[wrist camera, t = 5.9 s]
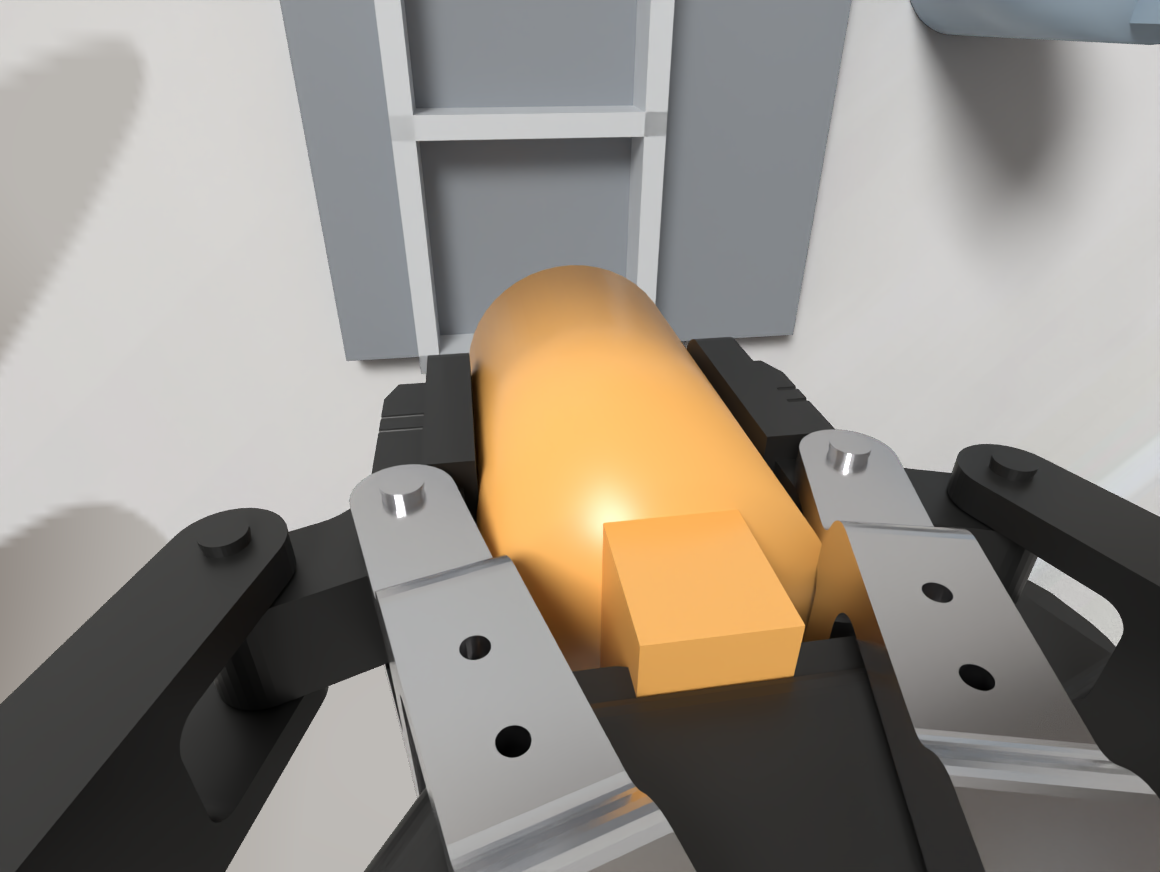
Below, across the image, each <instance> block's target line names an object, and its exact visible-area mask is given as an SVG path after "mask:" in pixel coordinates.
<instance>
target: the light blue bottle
mask: <svg viewBox="0 0 1160 872" xmlns="http://www.w3.org/2000/svg"><path fill="white" fill-rule="evenodd" d="M911 3H912V6H913V8H914V10H915V12H916V14H917V15H918V16H919V18H920V19H921V20H922V21H923V22H924V23H925V24H926V25H927V26H928V27H930V28H931V29H933V30H935V31H937V32H939V33H943V34H948V35H963V36H983V37H1003V38H1023V39H1043V40H1064V41H1084V42H1104V43H1124V44H1144V45H1154V44H1160V0H911Z"/></svg>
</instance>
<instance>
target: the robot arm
mask: <svg viewBox="0 0 1160 872" xmlns="http://www.w3.org/2000/svg"><path fill="white" fill-rule="evenodd" d="M687 351H688V352H689V353H690V355H691V356H692V358H693V359H694V361H695V362H696V363H697V365H698V366H699V368H700V369H701V371H702V372H703V373H704V375H705V376H706V378H707V379H708V381H709V382H710V383H711V385H712V386H713V388H714V389H715V391H716V392H717V393H718V395H719V396H720V398H721V399H722V401H723V402H724V403H725V405H726V406H727V408H728V409H729V411H730V412H731V413H732V415H733V416H734V418H735V419H736V420H737V422H738V423H739V425H740V426H741V428H742V429H743V430H744V432H745V433H746V435H747V436H748V438H749V439H750V440H751V442H752V443H753V445H754V446H755V448H756V449H757V450H758V452H759V453H760V455H761V456H762V458H763V459H764V460H765V462H766V463H767V465H768V466H769V468H770V469H771V470H772V472H773V473H774V475H775V476H776V477H777V479H778V480H779V482H780V483H781V485H782V486H783V487H784V489H785V490H786V492H787V493H788V495H789V496H790V497H791V499H792V500H793V502H794V503H795V505H796V506H797V507H798V509H799V510H800V512H801V513H802V515H803V516H804V517H805V519H806V520H807V522H808V523H809V525H810V526H811V527H812V529H813V530H814V532H815V533H816V535H817V536H818V538H819V540H820V541H821V543H822V546H821V550H820V554H819V559H818V563H817V567H816V568H817V583H816V592H815V597H814V601H813V605H812V609H811V614H810V618H809V622H808V626H807V630H806V634H805V639H804V642H802V643H801V647H800V651H799V655H798V659H797V664H796V668H795V672H794V677H790V678H782V679H775V680H767V681H759V682H752V683H744V684H737V685H729V686H722V687H714V688H707V689H699V690H692V691H684V692H677V693H669V694H662V695H654V696H647V697H639V698H636V694H635V690H634V686H633V683H632V679H631V675H630V672H629V668H628V667H620V666H611V667H603V668H595V669H587V670H579V671H571V669H570V667H569V665H568V663H567V662H566V660H565V658H564V656H563V654H562V652H561V650H560V649H559V647H558V645H557V643H556V641H555V639H554V637H553V636H552V634H551V632H550V630H549V628H548V626H547V624H546V623H545V621H544V619H543V617H542V615H541V613H540V611H539V610H538V608H537V606H536V604H535V602H534V600H533V598H532V597H531V595H530V593H529V591H528V589H527V587H526V585H525V584H524V582H523V580H522V578H521V576H520V574H519V572H518V571H517V569H516V567H515V565H514V563H513V562H512V560H511V559H510V558H509V557H508V556H507V555H505V554H504V555H500V556H496V557H492V555H491V553H490V551H489V549H488V547H487V545H486V543H485V541H484V539H483V537H482V535H481V533H480V531H479V529H478V528H477V506H478V500H479V498H478V480H477V463H476V446H475V429H474V412H473V395H472V377H471V366H470V355H469V353H457V354H441V355H428V357H427V371H426V383H416V384H401V385H398V386H397V387H396V388H395V389H394V390H393V391H392V392H391V393H390V394H389V395H388V396H387V397H386V398H385V399H384V404H383V410H382V416H381V417H382V419H381V421H380V427H379V433H378V439H377V445H376V451H375V457H374V463H373V469H372V474H371V475H369V476H368V477H366V478H365V479H363V480H362V481H361V482H360V483H359V484H357V486H356V487H355V488H354V489H353V491H352V493H351V495H350V500H349V502H350V509H349V510H347V511H346V512H344V513H342V514H340V515H338V516H336V517H334V518H332V519H329V520H326V521H323V522H320V523H317V524H314V525H310V526H307V527H304V528H300V529H297V530H293V531H290V532H288V529H287V525H286V523H285V521H284V520H283V519H282V518H281V517H280V516H279V515H277V514H276V513H274V512H271V511H268V510H264V509H259V508H239V509H233V510H227V511H223V512H219V513H216V514H213V515H210V516H207V517H205V518H203V519H200V520H198V521H196V522H195V523H193V524H191V525H189V526H188V527H186V528H185V529H183V530H182V531H181V532H179V533H178V534H177V535H176V536H175V537H174V538H173V539H172V540H171V541H170V542H169V543H167V544H166V546H165V547H163V548H162V549H161V550H160V551H159V552H158V553H157V554H156V555H155V556H154V557H153V558H152V559H151V560H150V561H149V562H148V563H147V564H146V565H145V566H144V567H143V568H142V569H141V570H139V571H138V572H137V573H136V574H135V576H133V577H132V578H131V579H130V580H129V581H128V582H127V583H126V584H125V585H124V586H123V587H122V588H121V589H120V590H119V591H118V592H117V593H116V594H115V595H113V596H112V597H111V598H110V599H109V600H108V601H107V602H106V603H105V604H104V605H103V606H102V607H101V608H100V609H99V610H98V611H97V612H96V613H95V614H94V615H93V616H92V617H91V618H90V619H89V620H87V621H86V622H85V623H84V624H83V625H82V626H81V627H80V628H79V629H78V630H77V631H76V632H75V633H74V634H73V635H72V636H71V637H70V638H69V639H68V640H67V641H66V642H65V643H64V644H63V645H61V646H60V647H59V648H58V649H57V650H56V651H55V652H54V653H53V654H52V655H51V656H50V657H49V658H48V659H47V660H46V661H45V662H44V663H43V664H42V665H41V666H40V667H39V668H38V669H37V670H35V671H34V672H33V673H32V674H31V675H30V676H29V677H28V678H27V679H26V680H25V681H24V682H23V683H22V684H21V685H20V686H19V687H18V688H17V689H16V690H15V691H14V692H13V693H12V694H11V695H10V696H8V698H6V699H5V700H4V701H3V702H2V703H1V704H0V872H225V871H226V869H227V868H228V866H229V864H230V862H231V861H232V859H233V857H234V856H235V854H236V852H237V850H238V849H239V847H240V845H241V843H242V842H243V840H244V838H245V836H246V835H247V833H248V831H249V829H250V828H251V826H252V824H253V823H254V821H255V819H256V817H257V816H258V814H259V812H260V810H261V808H262V807H263V805H264V803H265V802H266V800H267V798H268V797H269V795H270V793H271V791H272V789H273V788H274V786H275V784H276V783H277V781H278V779H279V777H280V776H281V774H282V772H283V770H284V769H285V767H286V765H287V764H288V762H289V760H290V758H291V756H292V755H293V753H294V751H295V750H296V748H297V746H298V744H299V743H300V741H301V739H302V737H303V736H304V734H305V732H306V731H307V729H308V727H309V725H310V724H311V722H312V720H313V718H314V717H315V715H316V713H317V711H318V710H319V708H320V706H321V704H322V703H323V700H324V699H325V697H326V694H327V691H328V686H330V685H332V684H335V683H338V682H340V681H343V680H345V679H348V678H350V677H353V676H355V675H358V674H360V673H363V672H366V671H368V670H371V669H374V668H376V667H379V666H381V665H384V667H385V671H386V675H387V679H388V683H389V686H390V691H391V694H392V698H393V702H394V706H395V710H396V713H397V717H398V722H399V726H400V729H401V733H402V737H403V741H404V745H405V749H406V753H407V757H408V761H409V765H410V769H411V773H412V778H413V782H414V787H415V791H416V796H417V800H416V801H415V803H414V804H413V805H412V807H411V808H410V809H409V811H408V812H407V814H406V815H405V816H404V818H403V819H402V820H401V822H400V823H399V824H398V826H397V827H396V829H395V830H394V831H393V833H392V834H391V835H390V837H389V838H388V839H387V841H386V842H385V843H384V845H383V846H382V848H381V849H380V850H379V852H378V853H377V854H376V856H375V857H374V859H373V860H372V861H371V863H370V864H369V865H368V867H367V868H366V870H365V871H364V872H1160V517H1159V516H1157V515H1155V514H1153V513H1151V512H1149V511H1147V510H1145V509H1143V508H1141V507H1139V506H1137V505H1135V504H1133V503H1131V502H1129V501H1127V500H1125V499H1123V498H1121V497H1119V496H1117V495H1115V494H1113V493H1111V492H1109V491H1107V490H1105V489H1103V488H1101V487H1099V486H1097V485H1095V484H1093V483H1091V482H1089V481H1087V480H1085V479H1083V478H1081V477H1079V476H1077V475H1075V474H1073V473H1071V472H1069V471H1067V470H1065V469H1063V468H1061V467H1059V466H1057V465H1055V464H1053V463H1051V462H1049V461H1047V460H1045V459H1043V458H1041V457H1039V456H1037V455H1035V454H1032V453H1030V452H1027V451H1024V450H1021V449H1017V448H1013V447H1009V446H1003V445H994V444H979V445H973V446H969V447H967V448H965V449H963V450H962V451H960V452H959V454H958V456H957V459H956V462H955V465H954V468H953V471H952V473H945V472H935V471H926V470H916V469H908V468H903V466H902V464H901V462H900V460H899V458H898V457H897V455H896V454H895V452H894V451H893V450H892V449H891V448H890V447H888V446H887V445H886V444H884V443H883V442H881V441H879V440H877V439H875V438H873V437H870V436H868V435H865V434H861V433H858V432H853V431H848V430H835V429H834V428H833V426H832V425H831V424H830V423H829V422H828V421H827V420H826V419H825V418H824V417H823V416H822V414H821V413H820V412H819V411H818V410H817V409H816V408H815V407H814V406H813V405H812V404H811V402H810V401H806V397H805V396H804V395H803V394H802V393H801V392H800V390H799V389H796V386H795V385H794V384H793V383H792V382H791V381H790V380H789V378H788V377H787V376H786V375H785V374H784V373H783V372H781V371H780V370H778V369H776V368H774V367H772V366H770V365H768V364H766V363H764V362H762V361H753V360H752V359H751V358H750V357H749V356H748V354H747V353H746V352H745V351H744V350H743V349H742V347H741V346H740V345H739V344H738V343H737V342H736V341H735V339H734V338H733V337H719V338H703V339H692V340H690V342H689V344H688V346H687ZM1037 557H1039V558H1041V559H1042V560H1044V561H1046V562H1047V563H1049V564H1051V565H1052V566H1054V567H1055V568H1057V569H1059V570H1060V571H1062V572H1064V573H1065V574H1067V575H1068V576H1070V577H1072V578H1073V579H1075V580H1077V581H1078V582H1080V583H1081V584H1083V585H1085V586H1086V587H1088V588H1090V589H1091V590H1093V591H1094V592H1096V593H1098V594H1099V595H1101V596H1102V597H1104V598H1105V599H1107V600H1108V601H1109V602H1110V603H1111V604H1112V605H1113V606H1114V607H1115V608H1116V610H1117V611H1118V613H1119V614H1120V616H1121V619H1122V622H1123V628H1124V630H1123V635H1122V637H1121V639H1120V641H1119V643H1118V645H1117V646H1116V648H1115V650H1114V652H1113V653H1112V654H1111V653H1110V652H1108V651H1107V650H1105V649H1104V648H1102V647H1101V646H1099V645H1098V644H1096V643H1095V642H1094V641H1092V640H1091V639H1089V638H1088V637H1086V636H1085V635H1083V634H1082V633H1080V632H1079V631H1077V630H1076V629H1074V628H1073V627H1071V626H1070V625H1068V624H1067V623H1065V622H1064V621H1062V620H1061V619H1059V618H1058V617H1056V616H1055V615H1053V614H1052V613H1050V612H1049V611H1047V610H1046V609H1044V608H1043V607H1041V606H1040V605H1038V604H1037V603H1035V602H1034V601H1032V600H1031V599H1029V598H1028V597H1026V596H1025V595H1023V594H1022V591H1023V588H1024V586H1025V584H1026V582H1027V579H1028V577H1029V575H1030V573H1031V571H1032V568H1033V566H1034V564H1035V562H1036V559H1037Z"/></svg>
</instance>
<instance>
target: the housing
mask: <svg viewBox="0 0 1160 872" xmlns="http://www.w3.org/2000/svg"><path fill="white" fill-rule="evenodd" d="M280 5H281V10H282V15H283V21H284V26H285V32H286V37H287V42H288V48H289V53H290V58H291V64H292V69H293V75H294V80H295V85H296V91H297V96H298V102H299V107H300V112H301V118H302V123H303V129H304V134H305V139H306V145H307V150H308V156H309V161H310V166H311V172H312V177H313V182H314V188H315V193H316V199H317V204H318V209H319V215H320V220H321V226H322V231H323V236H324V242H325V247H326V253H327V258H328V263H329V269H330V274H331V280H332V285H333V290H334V296H335V301H336V306H337V312H338V317H339V323H340V328H341V333H342V339H343V344H344V350H345V355H346V360H347V361H356V360H373V359H390V358H407V357H419V361H420V369H421V374H426V371H427V357H428V355H441V354H457V353H470V346H471V342H472V339H473V335H474V333H475V330H476V328H477V326H478V323H479V321H480V320H481V318H482V317H483V315H484V313H485V312H486V310H487V309H488V308H489V307H490V305H491V304H492V303H493V302H494V300H495V299H496V298H498V297H499V296H500V295H501V294H502V293H503V292H504V291H505V290H506V289H508V288H509V287H511V286H512V285H513V284H515V283H516V282H518V281H520V280H521V279H523V278H525V277H527V276H529V275H531V274H534V273H537V272H539V271H542V270H545V269H550V268H554V267H559V266H568V265H585V266H592V267H598V268H602V269H605V270H609V271H612V272H614V273H616V274H619V275H621V276H623V277H625V278H627V279H628V280H630V281H631V282H633V283H635V284H636V285H637V286H638V287H639V288H641V289H642V290H643V291H644V292H645V293H646V294H647V295H648V296H649V298H650V299H651V300H652V301H653V302H654V304H655V305H656V306H657V308H658V309H659V311H660V312H661V314H662V315H663V316H664V318H665V319H666V321H667V322H668V324H669V325H670V326H671V328H672V329H673V331H674V332H675V334H676V335H677V336H678V338H679V339H680V341H690V340H692V339H703V338H719V337H733V338H745V337H762V336H779V335H793V331H794V326H795V320H796V314H797V308H798V303H799V297H800V291H801V286H802V280H803V274H804V269H805V263H806V257H807V251H808V246H809V240H810V234H811V229H812V223H813V217H814V211H815V206H816V200H817V194H818V189H819V183H820V177H821V172H822V166H823V160H824V154H825V149H826V143H827V137H828V132H829V126H830V120H831V115H832V109H833V103H834V97H835V92H836V86H837V80H838V75H839V69H840V63H841V58H842V52H843V46H844V40H845V35H846V29H847V23H848V18H849V12H850V6H851V0H280Z"/></svg>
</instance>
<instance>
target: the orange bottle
mask: <svg viewBox="0 0 1160 872" xmlns="http://www.w3.org/2000/svg"><path fill="white" fill-rule="evenodd" d="M469 355H470V366H471V377H472V395H473V412H474V429H475V446H476V463H477V480H478V498H479V500H478V506H477V528H478V529H479V531H480V533H481V535H482V537H483V539H484V541H485V543H486V545H487V547H488V549H489V551H490V553H491V555H492V557H496V556H500V555H504V554H505V555H507V556H508V557H509V558H510V559H511V560H512V562H513V563H514V565H515V567H516V569H517V571H518V572H519V574H520V576H521V578H522V580H523V582H524V584H525V585H526V587H527V589H528V591H529V593H530V595H531V597H532V598H533V600H534V602H535V604H536V606H537V608H538V610H539V611H540V613H541V615H542V617H543V619H544V621H545V623H546V624H547V626H548V628H549V630H550V632H551V634H552V636H553V637H554V639H555V641H556V643H557V645H558V647H559V649H560V650H561V652H562V654H563V656H564V658H565V660H566V662H567V663H568V665H569V667H570V669H571V671H579V670H587V669H595V668H603V667H611V666H620V667H628V668H629V672H630V675H631V679H632V683H633V686H634V690H635V694H636V698H639V697H647V696H654V695H662V694H669V693H677V692H684V691H692V690H699V689H707V688H714V687H722V686H729V685H737V684H744V683H752V682H759V681H767V680H775V679H782V678H790V677H794V672H795V668H796V664H797V659H798V655H799V651H800V647H801V643H802V642H804V639H805V634H806V630H807V626H808V622H809V618H810V614H811V609H812V605H813V601H814V597H815V592H816V583H817V568H816V567H817V563H818V559H819V554H820V550H821V546H822V543H821V541H820V540H819V538H818V536H817V535H816V533H815V532H814V530H813V529H812V527H811V526H810V525H809V523H808V522H807V520H806V519H805V517H804V516H803V515H802V513H801V512H800V510H799V509H798V507H797V506H796V505H795V503H794V502H793V500H792V499H791V497H790V496H789V495H788V493H787V492H786V490H785V489H784V487H783V486H782V485H781V483H780V482H779V480H778V479H777V477H776V476H775V475H774V473H773V472H772V470H771V469H770V468H769V466H768V465H767V463H766V462H765V460H764V459H763V458H762V456H761V455H760V453H759V452H758V450H757V449H756V448H755V446H754V445H753V443H752V442H751V440H750V439H749V438H748V436H747V435H746V433H745V432H744V430H743V429H742V428H741V426H740V425H739V423H738V422H737V420H736V419H735V418H734V416H733V415H732V413H731V412H730V411H729V409H728V408H727V406H726V405H725V403H724V402H723V401H722V399H721V398H720V396H719V395H718V393H717V392H716V391H715V389H714V388H713V386H712V385H711V383H710V382H709V381H708V379H707V378H706V376H705V375H704V373H703V372H702V371H701V369H700V368H699V366H698V365H697V363H696V362H695V361H694V359H693V358H692V356H691V355H690V353H689V352H688V351H687V349H686V348H685V346H684V345H683V344H682V342H681V341H680V339H679V338H678V336H677V335H676V334H675V332H674V331H673V329H672V328H671V326H670V325H669V324H668V322H667V321H666V319H665V318H664V316H663V315H662V314H661V312H660V311H659V309H658V308H657V306H656V305H655V304H654V302H653V301H652V300H651V299H650V298H649V296H648V295H647V294H646V293H645V292H644V291H643V290H642V289H641V288H639V287H638V286H637V285H636V284H635V283H633V282H631V281H630V280H628V279H627V278H625V277H623V276H621V275H619V274H616V273H614V272H612V271H609V270H605V269H602V268H598V267H592V266H585V265H568V266H559V267H554V268H550V269H545V270H542V271H539V272H537V273H534V274H531V275H529V276H527V277H525V278H523V279H521V280H520V281H518V282H516V283H515V284H513V285H512V286H511V287H509V288H508V289H506V290H505V291H504V292H503V293H502V294H501V295H500V296H499V297H498V298H496V299H495V300H494V302H493V303H492V304H491V305H490V307H489V308H488V309H487V310H486V312H485V313H484V315H483V317H482V318H481V320H480V321H479V323H478V326H477V328H476V330H475V333H474V335H473V339H472V342H471V346H470V353H469Z"/></svg>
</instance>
